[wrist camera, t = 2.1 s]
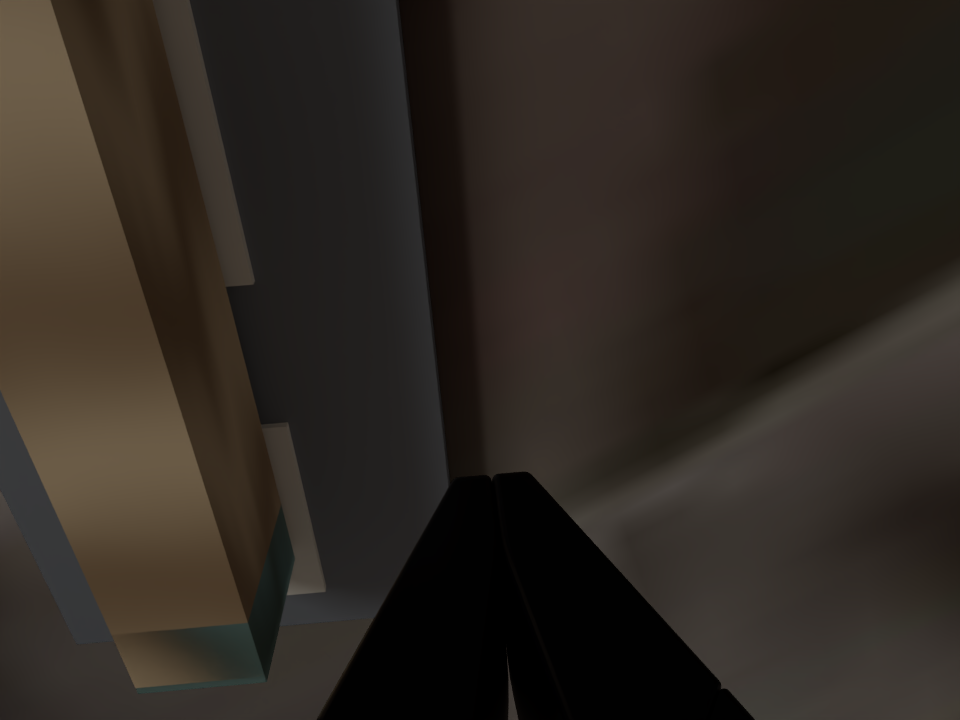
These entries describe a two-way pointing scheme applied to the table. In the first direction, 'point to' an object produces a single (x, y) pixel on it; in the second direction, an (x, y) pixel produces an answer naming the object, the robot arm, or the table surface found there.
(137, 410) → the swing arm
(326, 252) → the label board
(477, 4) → the table surface
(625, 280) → the table surface
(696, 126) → the table surface
